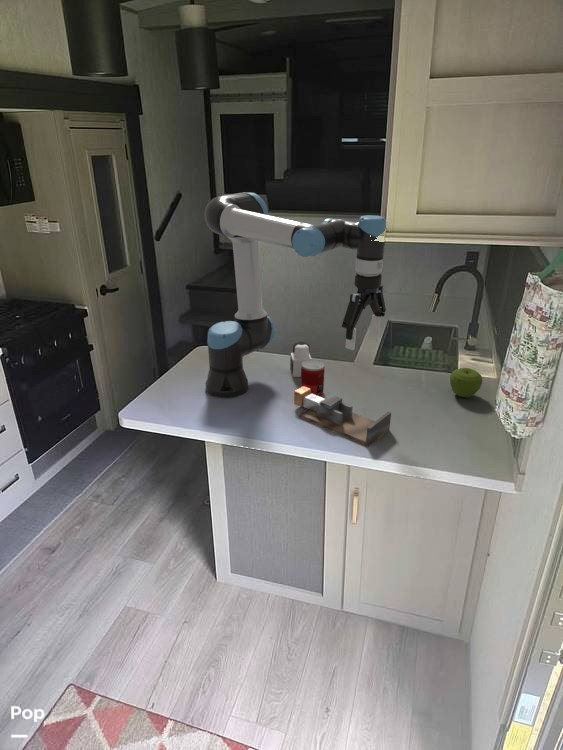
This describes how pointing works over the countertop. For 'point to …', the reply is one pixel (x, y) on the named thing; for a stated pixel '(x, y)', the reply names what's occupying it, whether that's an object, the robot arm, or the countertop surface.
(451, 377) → the apple
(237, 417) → the countertop surface
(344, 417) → the bearing rail
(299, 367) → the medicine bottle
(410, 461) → the countertop surface
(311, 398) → the shaft
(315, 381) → the canned food
